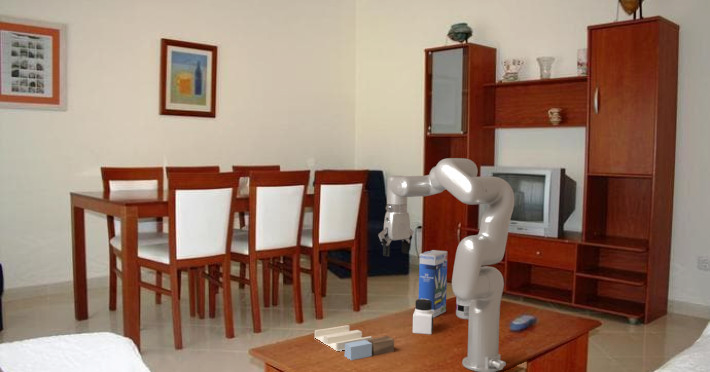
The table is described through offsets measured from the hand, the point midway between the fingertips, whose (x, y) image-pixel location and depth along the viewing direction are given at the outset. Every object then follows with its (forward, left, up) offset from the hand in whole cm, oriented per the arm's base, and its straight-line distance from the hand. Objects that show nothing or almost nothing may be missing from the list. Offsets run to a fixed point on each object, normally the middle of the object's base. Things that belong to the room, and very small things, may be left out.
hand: (395, 254), depth 221 cm
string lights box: (+13, -29, -29) cm, 43 cm away
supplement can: (+2, -38, -29) cm, 48 cm away
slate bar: (-16, +26, -29) cm, 43 cm away
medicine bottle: (-5, -10, -29) cm, 31 cm away
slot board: (-1, +23, -29) cm, 37 cm away
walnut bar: (-16, +17, -29) cm, 38 cm away
